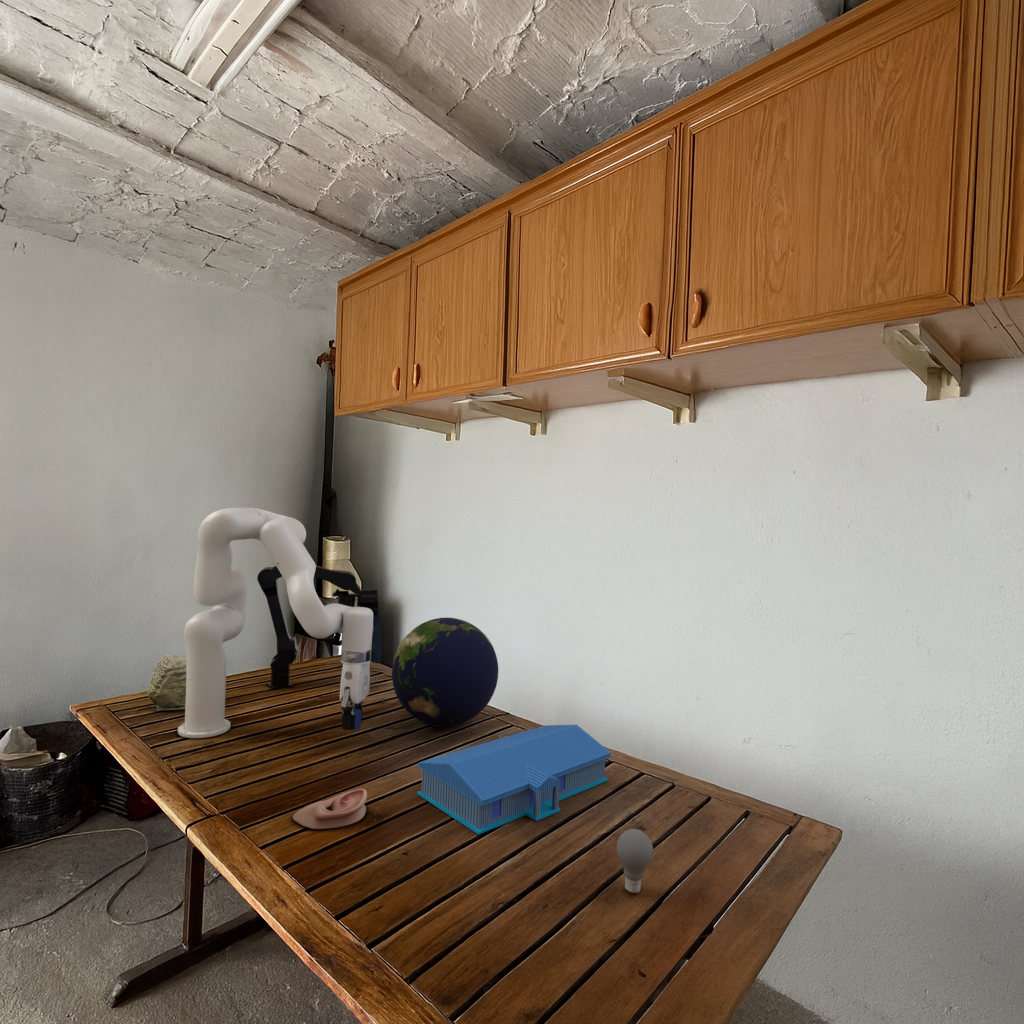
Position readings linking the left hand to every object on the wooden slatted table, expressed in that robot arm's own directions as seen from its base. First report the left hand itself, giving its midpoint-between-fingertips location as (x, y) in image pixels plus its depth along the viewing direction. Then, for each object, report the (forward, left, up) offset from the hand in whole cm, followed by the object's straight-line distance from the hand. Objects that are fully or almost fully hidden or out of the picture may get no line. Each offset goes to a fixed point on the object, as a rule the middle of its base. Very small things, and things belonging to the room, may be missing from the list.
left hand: (351, 725), depth 163 cm
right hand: (-51, +16, +5) cm, 53 cm away
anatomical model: (+34, -17, -5) cm, 38 cm away
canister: (0, 0, 0) cm, 0 cm away
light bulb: (+83, +19, -5) cm, 85 cm away
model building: (+43, +23, -5) cm, 49 cm away
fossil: (-48, -33, -5) cm, 59 cm away
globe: (-1, +27, -5) cm, 28 cm away
